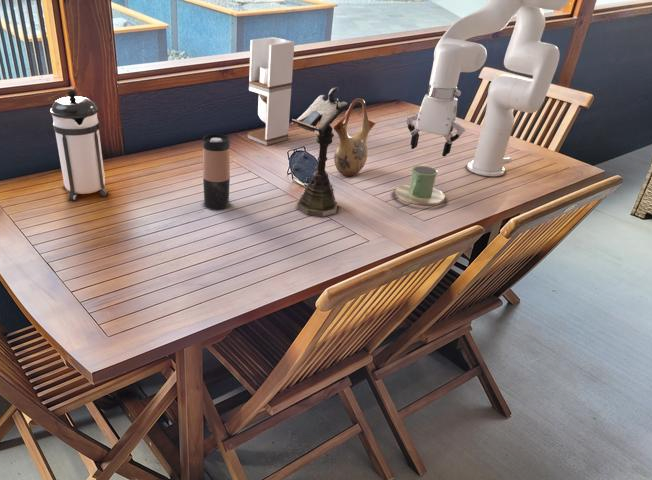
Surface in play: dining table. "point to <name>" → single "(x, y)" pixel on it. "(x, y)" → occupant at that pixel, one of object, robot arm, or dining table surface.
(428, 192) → the coffee cup on saucer
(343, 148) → the ceramic vessel
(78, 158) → the coffee press
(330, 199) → the ornate book stand
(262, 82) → the white dispenser tower
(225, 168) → the travel mug
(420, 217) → the dining table surface
